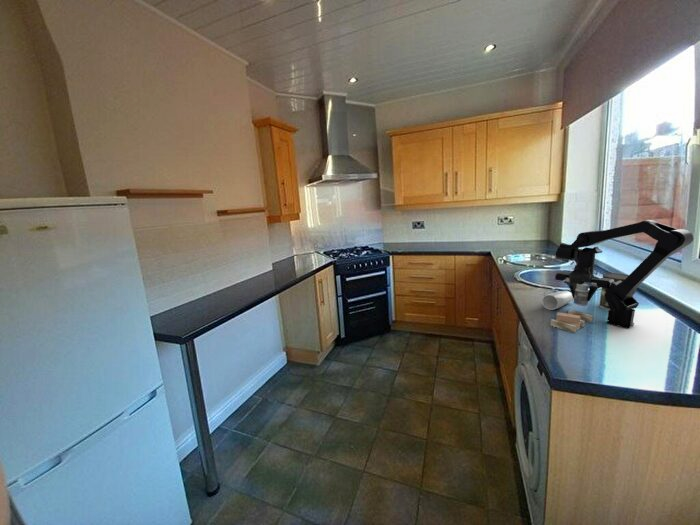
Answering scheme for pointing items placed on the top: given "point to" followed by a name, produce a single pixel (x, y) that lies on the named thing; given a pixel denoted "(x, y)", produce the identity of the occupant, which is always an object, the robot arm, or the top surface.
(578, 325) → the lower offcut
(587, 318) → the offcut rack
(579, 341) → the top surface
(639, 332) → the top surface
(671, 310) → the top surface
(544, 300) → the drinking glass
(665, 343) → the top surface
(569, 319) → the upper offcut
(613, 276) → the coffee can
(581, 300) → the pill bottle
